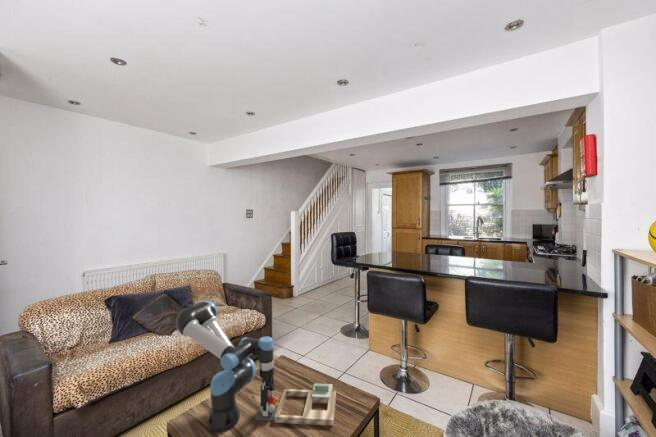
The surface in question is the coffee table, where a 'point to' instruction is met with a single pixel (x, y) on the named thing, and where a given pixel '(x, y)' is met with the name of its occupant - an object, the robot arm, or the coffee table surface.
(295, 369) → the coffee table surface
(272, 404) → the rainbow toy vehicle
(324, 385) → the lid
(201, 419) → the coffee table surface
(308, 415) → the board
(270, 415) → the mat
